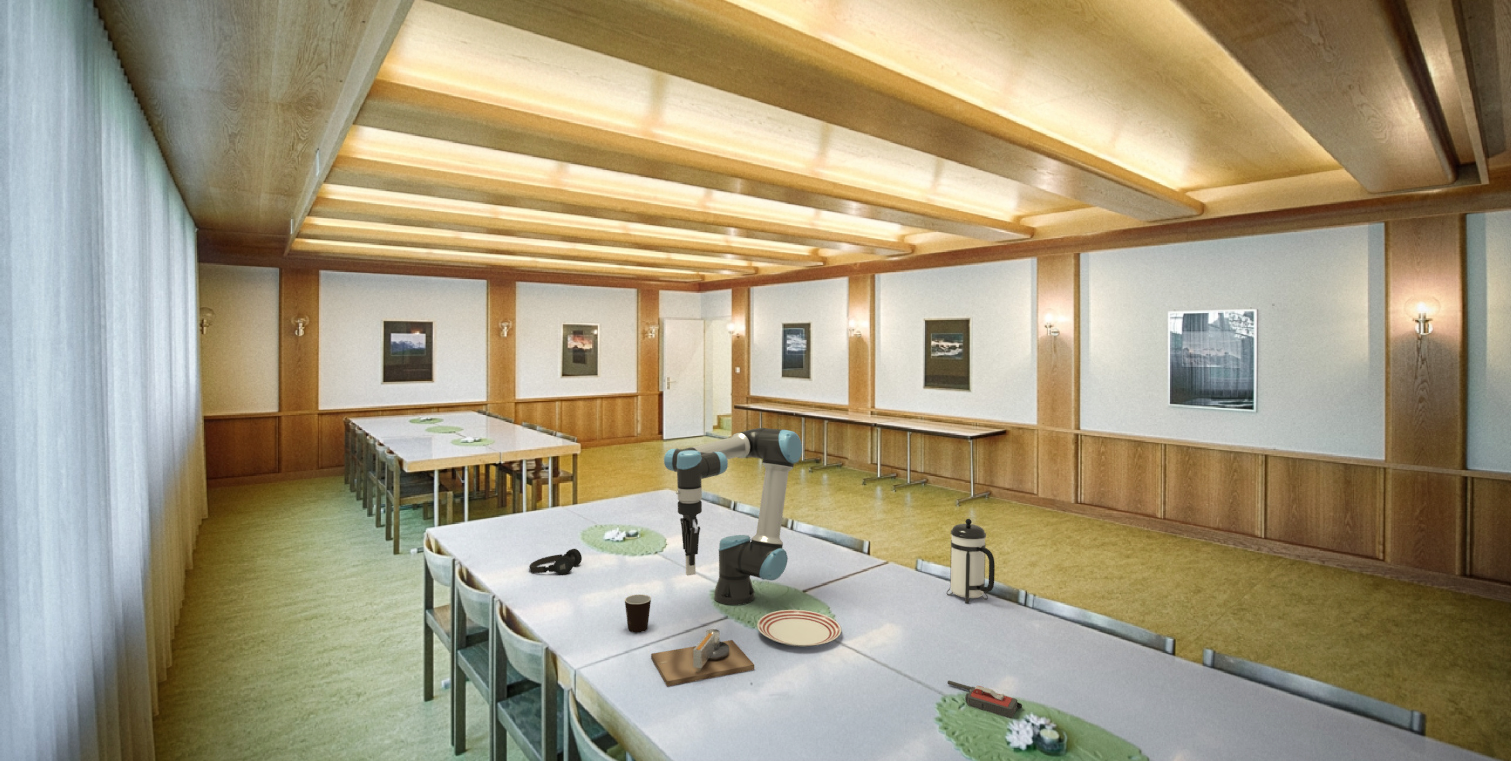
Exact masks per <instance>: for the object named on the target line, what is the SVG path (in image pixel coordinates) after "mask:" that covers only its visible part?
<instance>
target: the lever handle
mask: <svg viewBox="0 0 1511 761" xmlns="http://www.w3.org/2000/svg"><path fill="white" fill-rule="evenodd" d="M695 646H696V647H695V648H694V650H693V667H696V668H702V667H703V666H704V664H705V663H706V662H707V660H708V661H715V660H721V659H724V658H726V657H727V656H728V655H729V646H728V645H727V644H726V643H724V642H722V641H721V640H720V630H719V629H716V628H709V629H706V631H705V635H704V637H702V639H701V640H700V641H699V642H698V644H697V645H695Z"/></svg>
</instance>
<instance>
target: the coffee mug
mask: <svg viewBox="0 0 1511 761" xmlns="http://www.w3.org/2000/svg"><path fill="white" fill-rule="evenodd" d="M651 602H652V597H651V596H649V595H647V594H633V595H629V596H627V597H625V598H624V605H625V614H626V623H627V631H628V632H630V633H632V634H633V633H634V634H639V633H644V632H646V631H647V630H648V627H649V618H650V610H651V604H652V603H651Z"/></svg>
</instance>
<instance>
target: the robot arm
mask: <svg viewBox="0 0 1511 761" xmlns="http://www.w3.org/2000/svg"><path fill="white" fill-rule="evenodd" d="M802 454H803V445H802V441H801V438H800V436H799V434H797V433H796V432H795V431H793V430H787V429H780V428H778V429H777V428H765V427H758V428H752V429H748V430H743V431H740V432H736V433H734V434H732V436H730V437H727V438H723V439H720V440H719V439H718V440H714V441H711V442H707V443H703V444H700V445H695V446H691V447H686V448H682V449H681V448H670V449H669V450H667V451H666V452H665V454H664V457H663V462H664V463H663V464H664V466H665V469H667V470H668V471H672V472H674V473H676V474H677V483H676V484H677V485H676V486H677V491H676V492H675V494H676V495H677V500H678V501H677V514H679V515H681V516H682V517H681V518H680V519H679V521H680V525H681V537H682V549H683V550H684V554H685V575H686V576H688V577H689V576H694V575H696V574H697V573H696V555H698V554H699V543H700V542H699V540H700V532H701V526H698V525H699V523H698V522H699V521H698V519H697V515H700V514H701V513H702V512H703V511H702V510H703V509H702V508H703V504H702V501H701V500H702V499H703V493H702V492H703V491H702V489H703V488H702V480H704V479H707V478H711V477H718V476H719V475H722V474H724V473H725V472H726V471H727V470H728V467H729V466H728V464H729V463H728V462H729V461H728V460H731V459H734V458H736V459H737V458H738V459H744V458H755V459H760V460H762V463H761V464H762V465H763V468H765V471H764V478H763V482H762V483H763V485H762V492H761V498H760V499H761V500H760V504H759V505H760V507H759V511H758V512H759V514H758V520H757V527H756V532H755V533H756V534H755V535H753V536H752V537H750V536H749V535H747V534H736V535H735V534H733V535H729V536H724V537H723V538H721V539H720V541H719V547H718V580H717V582H716V585H715V589H714V591H713V592H714V593H713V595H714V597H713V598H714V601H716V602H717V603H719V604H723V605H727V604H729V605H728V606H739V605H738V604H741V605H746V604H749V603H751V602H753V601H754V600H755V589H754V585H753V583H752V580H751V576H752V577H754V578H759V579H761V580H766V581H776V580H777V579H779V578H780V577H781V575H783V574H784V572H785V570H786V568H787V564H788V553H787V551H786V550H785V549H784V547H783V545H784V543H783V541H782V539H781V537H780V535H781V530H782V529H781V528H782V523H783V522H782V521H783V516H784V515H783V514H784V509H785V508H784V507H785V501H786V494H787V493H786V492H787V486H788V479H789V472H790V471H793V469H794V466H795V465H794V464H796V463H799V461H800V459H801V457H802ZM745 603H746V604H745ZM730 604H731V605H730Z"/></svg>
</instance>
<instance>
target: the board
mask: <svg viewBox="0 0 1511 761" xmlns="http://www.w3.org/2000/svg"><path fill="white" fill-rule="evenodd" d="M721 642H724V643H726V644H727V645H728V646H729V655H728V656H727V657H726V658H724V659H721V660H715V661H708V660H707V662H706V663H705V664H704V666H703V667H702V668H696V667H693V650H694V648H695V647H696V646H697V645H694V646H689V647H683V648H677V649H672V650H665V651H660V652H654V653H651V654H650V657H651V658H650V659H651V660H652V662H653V665H655V667H656V670H657V671H658V673H659V675H660V677H661V678H662V680H663V681H664V684H665V685H666V687H672V686H677V685H682V684H688V683H693V682H697V681H703V680H709V679H713V678H718V677H724V676H725V677H726V676H730V675H734V674H739V673H744V672H750V671H754V670H755V663H754V662H753V661H752V660H751V659H750V658H749V657H748V656H747V654H746V653H745V652H744V651H743V650H742V649H741V648H740V647H739V645H738V644H737V643H736V642H735V641H734V640H733V639H729V640H723V641H721Z"/></svg>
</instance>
